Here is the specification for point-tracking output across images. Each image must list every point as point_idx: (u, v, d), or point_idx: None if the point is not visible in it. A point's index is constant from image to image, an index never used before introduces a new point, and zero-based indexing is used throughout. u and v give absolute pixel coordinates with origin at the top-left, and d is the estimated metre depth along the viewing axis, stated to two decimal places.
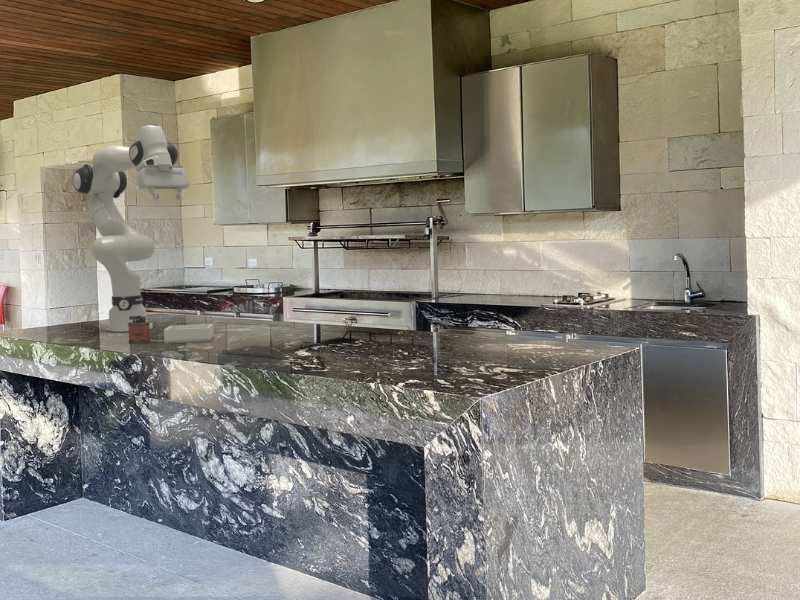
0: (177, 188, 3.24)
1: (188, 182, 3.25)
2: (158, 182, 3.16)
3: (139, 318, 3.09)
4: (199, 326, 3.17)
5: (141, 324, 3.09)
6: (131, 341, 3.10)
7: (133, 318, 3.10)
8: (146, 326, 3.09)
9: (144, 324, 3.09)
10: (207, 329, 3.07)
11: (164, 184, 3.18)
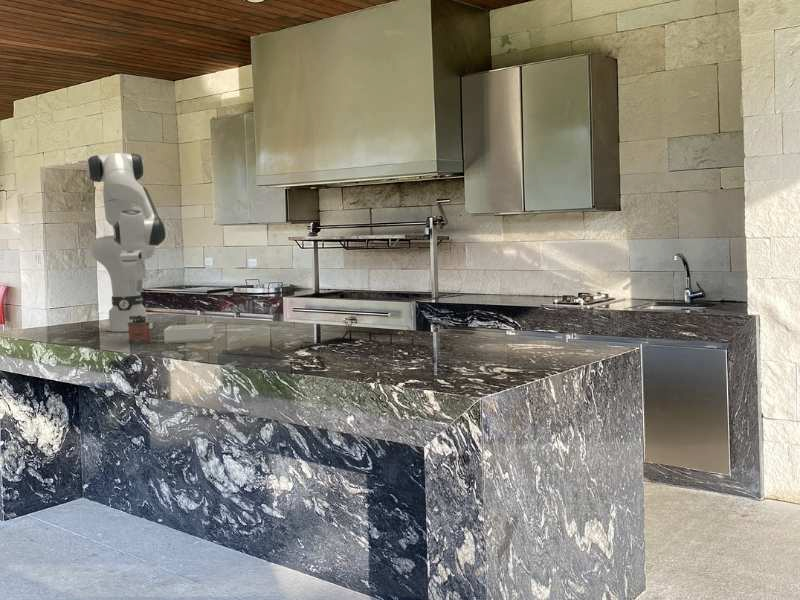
0: (138, 279, 3.14)
1: (145, 274, 3.18)
2: (138, 276, 3.05)
3: (139, 318, 3.09)
4: (199, 326, 3.17)
5: (141, 324, 3.09)
6: (131, 341, 3.10)
7: (133, 318, 3.10)
8: (146, 326, 3.09)
9: (144, 324, 3.09)
10: (207, 329, 3.07)
11: (140, 278, 3.08)
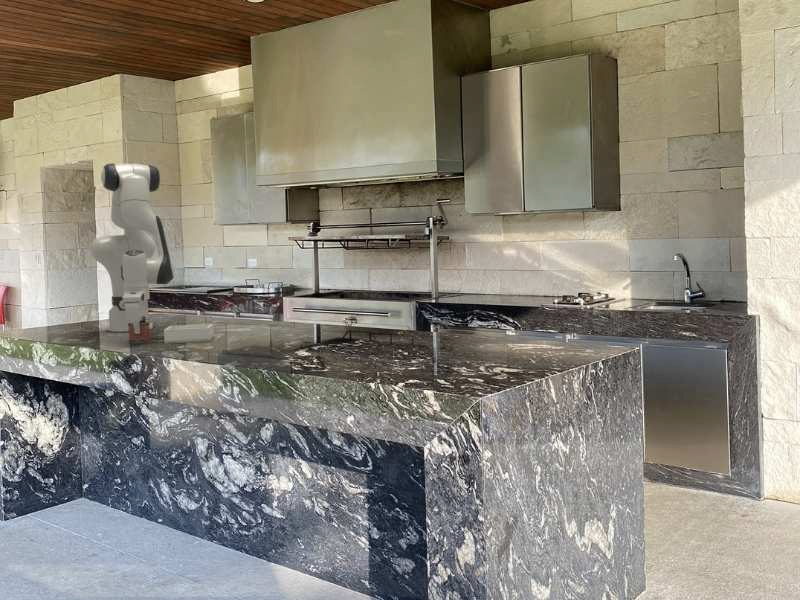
0: None
1: (148, 313, 3.19)
2: (141, 317, 3.07)
3: None
4: (199, 326, 3.17)
5: (141, 324, 3.09)
6: (131, 341, 3.10)
7: None
8: (146, 326, 3.09)
9: (144, 324, 3.09)
10: (207, 329, 3.07)
11: (142, 318, 3.09)
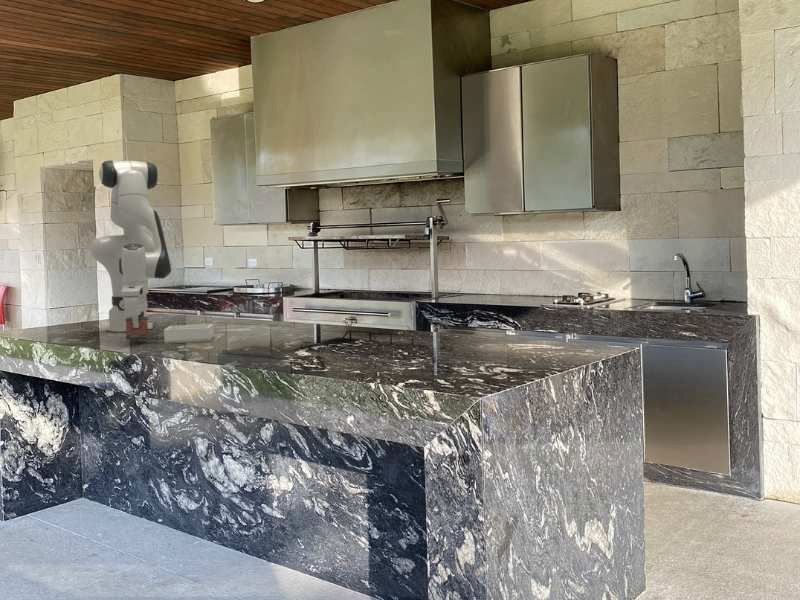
0: None
1: None
2: (139, 311, 3.07)
3: None
4: (199, 326, 3.17)
5: (139, 318, 3.09)
6: (129, 336, 3.08)
7: None
8: (144, 320, 3.09)
9: (142, 318, 3.09)
10: (207, 329, 3.07)
11: (141, 312, 3.09)
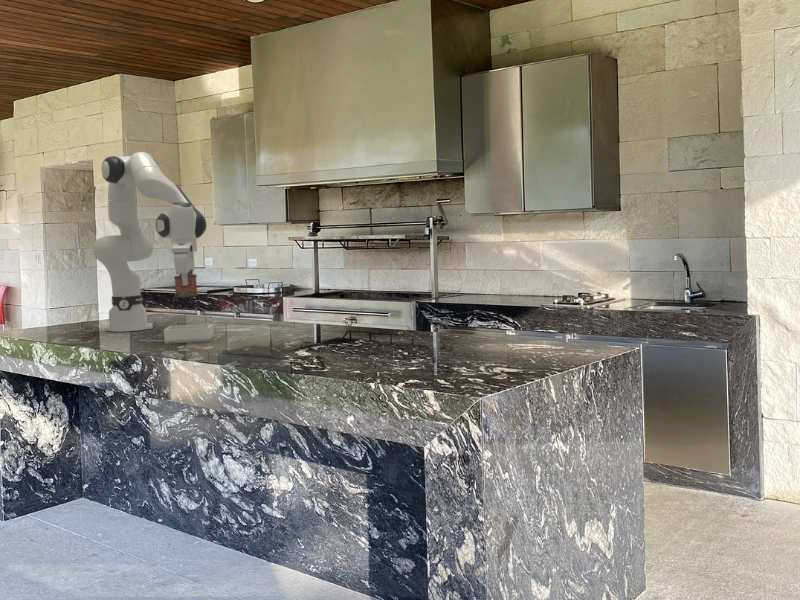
0: None
1: (194, 266, 3.19)
2: (189, 269, 3.07)
3: None
4: (199, 326, 3.17)
5: (188, 276, 3.09)
6: (178, 294, 3.08)
7: None
8: (193, 278, 3.09)
9: (191, 276, 3.09)
10: (207, 329, 3.07)
11: (190, 270, 3.09)
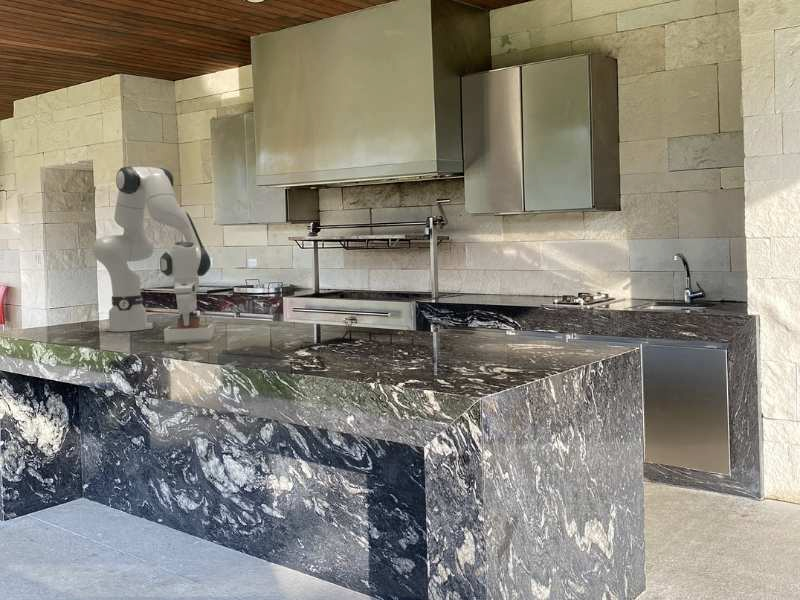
0: None
1: (196, 304, 3.21)
2: (191, 308, 3.08)
3: (190, 314, 3.15)
4: (199, 326, 3.17)
5: (192, 317, 3.13)
6: None
7: None
8: (197, 319, 3.13)
9: (195, 317, 3.13)
10: (207, 329, 3.07)
11: (192, 309, 3.11)
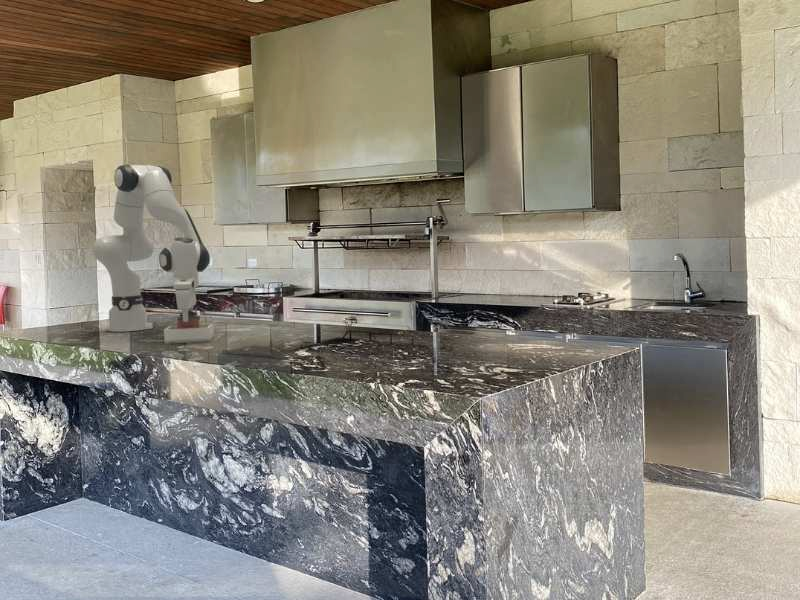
0: None
1: None
2: (190, 304, 3.08)
3: (190, 313, 3.14)
4: (199, 326, 3.17)
5: (192, 317, 3.12)
6: None
7: None
8: (196, 319, 3.13)
9: (195, 317, 3.13)
10: (207, 329, 3.07)
11: (191, 305, 3.11)
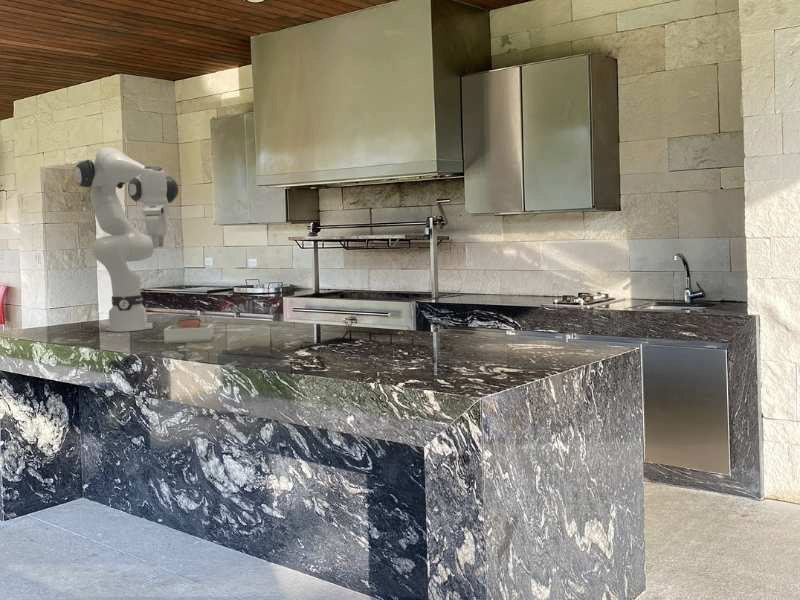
0: (160, 235, 3.22)
1: (166, 230, 3.26)
2: (160, 231, 3.13)
3: (192, 316, 3.17)
4: None
5: (193, 318, 3.15)
6: None
7: (185, 317, 3.17)
8: (197, 320, 3.15)
9: (196, 318, 3.15)
10: (207, 329, 3.07)
11: (161, 233, 3.16)
